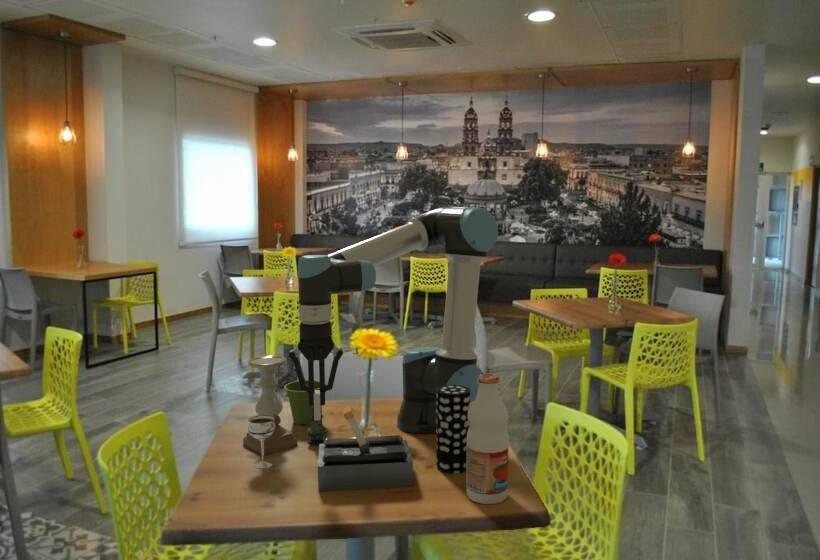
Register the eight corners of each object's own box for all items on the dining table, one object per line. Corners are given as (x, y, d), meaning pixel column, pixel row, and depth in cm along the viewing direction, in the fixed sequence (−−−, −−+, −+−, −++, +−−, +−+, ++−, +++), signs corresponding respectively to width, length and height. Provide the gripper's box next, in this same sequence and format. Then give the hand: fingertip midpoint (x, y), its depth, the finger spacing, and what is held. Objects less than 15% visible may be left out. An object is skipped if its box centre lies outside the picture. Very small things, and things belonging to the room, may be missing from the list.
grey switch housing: (406, 462, 170) (406, 433, 169) (412, 486, 156) (412, 454, 155) (319, 466, 168) (319, 436, 167) (318, 491, 154) (317, 459, 153)
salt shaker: (302, 444, 183) (301, 401, 182) (314, 437, 188) (313, 395, 187) (319, 447, 180) (318, 404, 179) (332, 440, 186) (331, 398, 184)
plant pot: (300, 412, 209) (299, 377, 207) (332, 418, 204) (331, 382, 202) (277, 424, 198) (275, 387, 197) (309, 430, 193) (308, 393, 192)
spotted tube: (465, 459, 172) (465, 384, 170) (473, 472, 164) (473, 393, 161) (433, 461, 171) (433, 385, 168) (439, 474, 163) (440, 395, 160)
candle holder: (276, 434, 190) (274, 352, 187) (298, 445, 182) (295, 359, 179) (242, 444, 183) (238, 359, 180) (263, 455, 175) (260, 367, 172)
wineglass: (281, 464, 169) (280, 419, 168) (258, 472, 165) (257, 425, 163) (267, 457, 174) (265, 412, 173) (244, 464, 169) (242, 419, 168)
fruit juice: (469, 484, 157) (470, 369, 153) (509, 488, 155) (511, 371, 151) (463, 503, 148) (464, 380, 144) (505, 507, 146) (507, 383, 142)
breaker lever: (370, 445, 163) (351, 405, 162) (371, 452, 159) (351, 410, 158) (361, 449, 163) (342, 409, 161) (362, 456, 159) (342, 414, 158)
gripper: (286, 325, 152) (288, 424, 155) (343, 323, 153) (345, 422, 156) (288, 318, 159) (290, 414, 162) (343, 317, 160) (344, 412, 163)
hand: (317, 418), depth 159 cm, fingers closed
